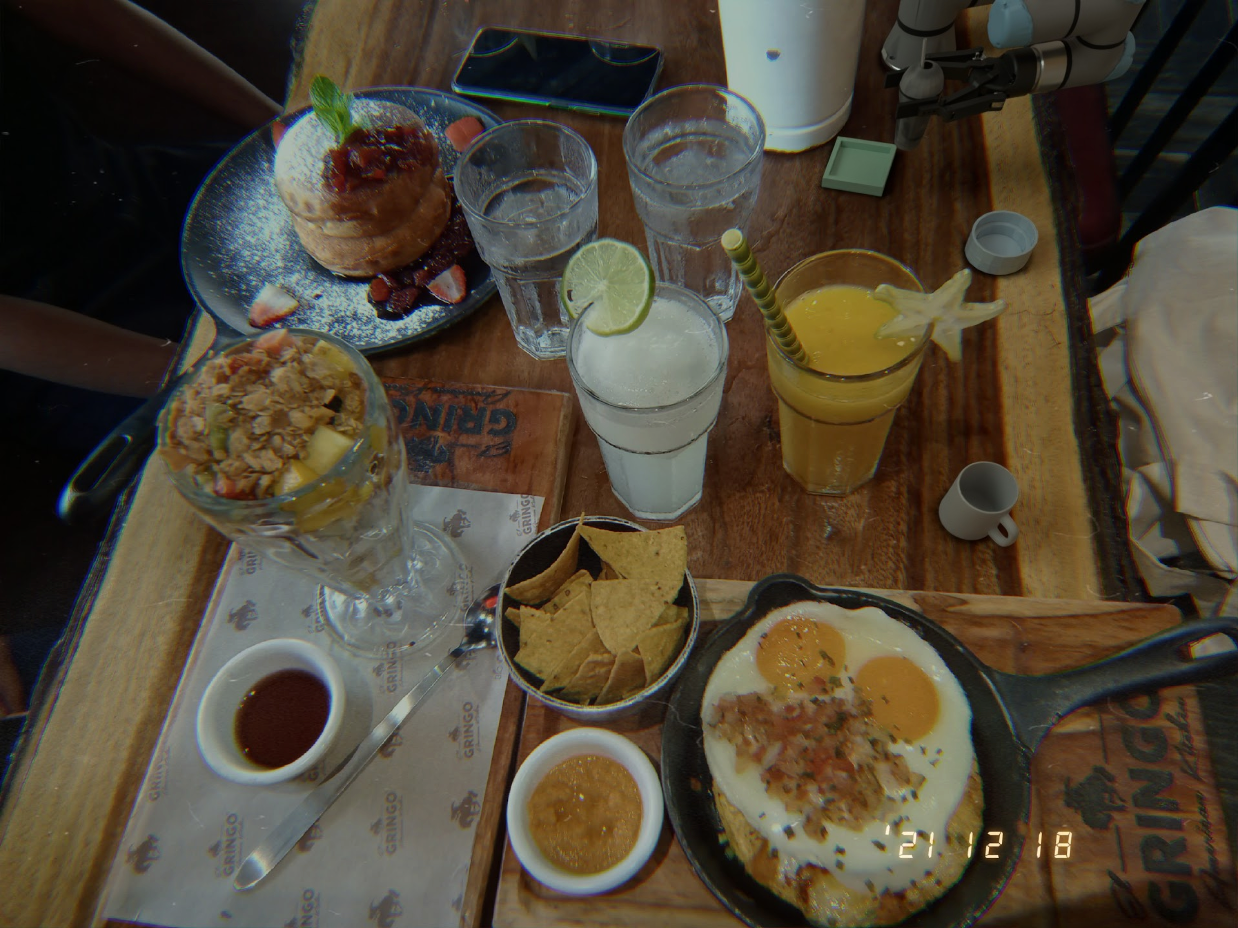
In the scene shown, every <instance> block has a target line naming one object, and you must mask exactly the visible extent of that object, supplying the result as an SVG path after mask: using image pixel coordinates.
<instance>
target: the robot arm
mask: <svg viewBox="0 0 1238 928" xmlns="http://www.w3.org/2000/svg"><path fill="white" fill-rule="evenodd" d="M1146 2H1147V0H900V2H899V7H898V12H897V17H896V21H895V22H894V25H893V27H892V28H891V30H890V32H889V34H888V36H887V37H886V39H885V41H884V43H883V46H882V49H881V55H880V60H881V64H882V66H883V68H884V69H885V70H886V72H885V76H884V81H883V85H882V86H883V89H885V90H886V89H891V88H897V87H898V88H899V84H900V81H901V80H902V77H903V75H904V73H905V72H906V71H907V69H908V68H909V67H910V66H911V65H913V64H914V63H916V62H918V61H921V57H922V48H923V39H925V38H926V39H927V42H926V51H925V60H931V61H934V62H935V63H937V64H938V65H939V66H940V68H941V69H942V71H943V75H944V80H948V81H961V83H962V84H969V85H967V86H966V87H963V88H961V89H959V90H957V91H955V92H953V93H951V94H949V95H947V96H943V95H940V97H939V98H938V97H937V96H935V97H929V98H923V99H918V100H912V101H907V102H901V103H899V102H897V104H896V109H895V113H894V119H895V120H896V121H897V119H903V118H909V117H914V116H918V117H925V116H931V117H932V116H934V115H935V116H938V117H942V121H943V122H944V123H945V124H947V123H951V122H954V121H955V122H956V121H959V120H963V119H966V118H970V117H973V116H978V115H980V114H985V113H988V112H1001V111H1002V110H1003V108H1004V105H1005V103H1006V100H1009V99H1015V98H1021V97H1025V96H1027V95H1035V94H1041V93H1042V94H1043V93H1047V92H1053V91H1058V90H1064V89H1071V88H1077V87H1084V86H1090V85H1092V86H1093V85H1098V84H1101V83H1104V82H1108V81H1111V80H1115V79H1119V78H1120V77H1122V76H1123V75H1125V73H1126V72H1127V71H1128V70H1129V69H1130V68H1131V66H1132V63H1133V60H1134V58H1133V56H1134V54H1135V53H1136V41H1135V37H1134V35H1133V33H1132V32H1131V31H1130V29H1131V28H1132V27H1133V25H1134V23H1135V20H1136V19H1137V17H1138V15H1139V13H1140V12H1141V9H1142V8H1143V6H1144V4H1145V3H1146ZM988 5H991V7H990V10H989V12H988V22H987V36H988V40H989V42H990V44H991V45H992V46H993V47H994V48H996V49H998V50H1003V49H1008V50H1005V52H1003V53H1002V54H1001V55H999V56H997V57H996V56H987V55H986V54H985V53H984V51H985V47H984V46H983V45H978V46H975V47H972V48H969V49H959V50H957V41H956V30H955V27H956V26H955V23H956V19H957V15H958V12H959V11H962V10H966V9H970V8H977V7H983V6H988Z"/></svg>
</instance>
